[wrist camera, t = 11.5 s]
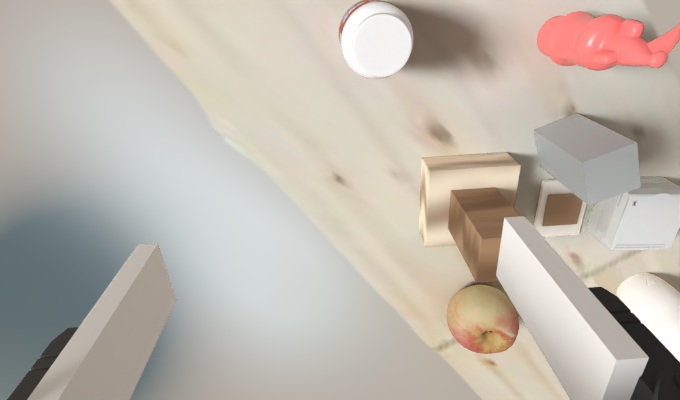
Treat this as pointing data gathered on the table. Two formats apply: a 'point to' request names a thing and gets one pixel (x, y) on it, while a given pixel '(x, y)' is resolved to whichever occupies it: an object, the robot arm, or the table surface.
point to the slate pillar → (588, 158)
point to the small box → (639, 217)
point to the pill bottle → (375, 38)
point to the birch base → (460, 188)
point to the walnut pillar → (479, 228)
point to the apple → (483, 319)
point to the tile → (558, 210)
